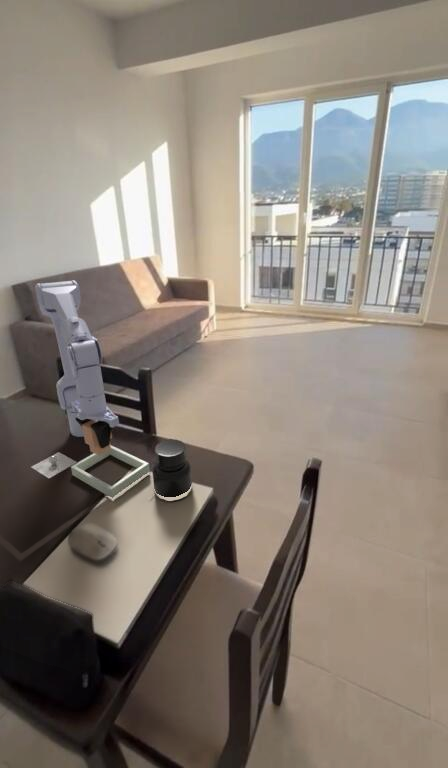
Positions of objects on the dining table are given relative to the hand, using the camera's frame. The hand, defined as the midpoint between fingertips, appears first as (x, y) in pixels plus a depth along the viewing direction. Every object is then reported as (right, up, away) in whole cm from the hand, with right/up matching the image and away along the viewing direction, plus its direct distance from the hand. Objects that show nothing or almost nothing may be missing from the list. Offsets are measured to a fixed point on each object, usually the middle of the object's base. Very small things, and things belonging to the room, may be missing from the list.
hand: (99, 443), depth 93 cm
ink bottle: (+18, -11, -1) cm, 21 cm away
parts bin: (+2, -9, +4) cm, 10 cm away
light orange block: (0, -2, +1) cm, 2 cm away
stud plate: (-14, -7, +7) cm, 17 cm away
